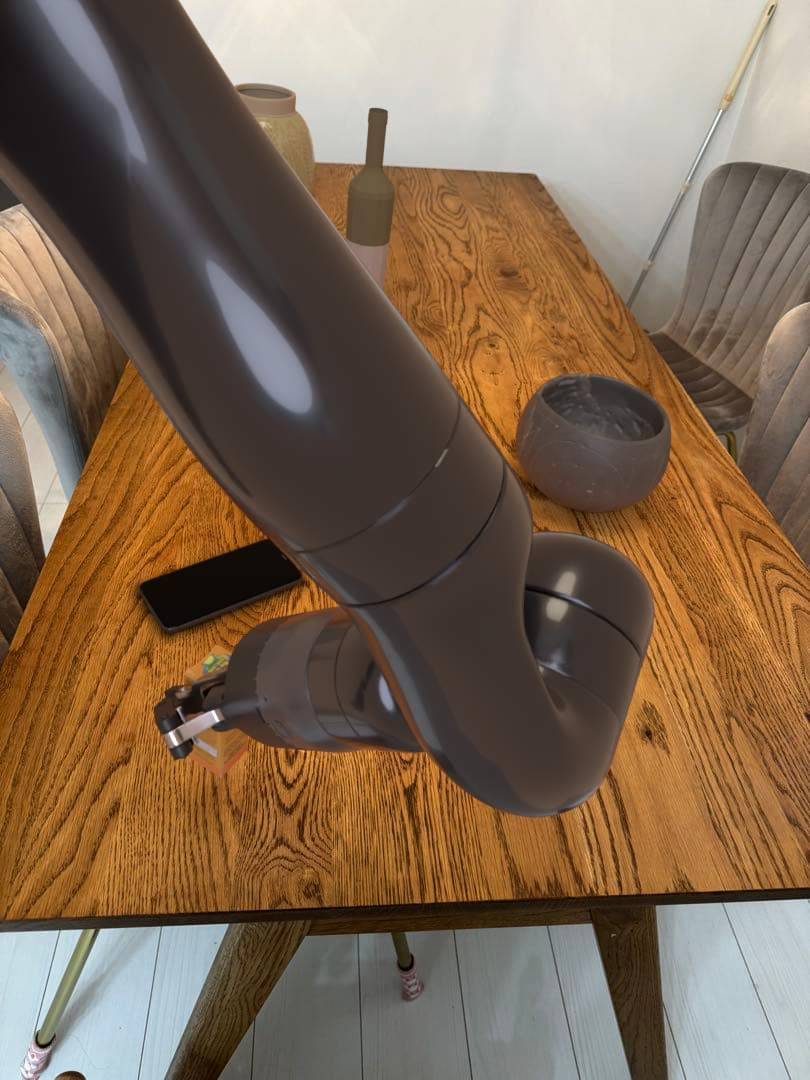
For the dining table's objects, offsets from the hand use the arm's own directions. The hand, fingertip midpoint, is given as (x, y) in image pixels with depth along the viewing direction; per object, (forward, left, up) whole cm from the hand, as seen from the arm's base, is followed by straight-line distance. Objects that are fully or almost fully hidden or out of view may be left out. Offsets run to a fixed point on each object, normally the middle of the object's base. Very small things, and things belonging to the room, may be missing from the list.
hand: (201, 686), depth 57 cm
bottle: (+56, +65, -12) cm, 87 cm away
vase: (+51, +88, -12) cm, 103 cm away
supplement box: (0, -2, -6) cm, 7 cm away
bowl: (+55, +14, -12) cm, 58 cm away
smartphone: (+10, +19, -12) cm, 25 cm away
